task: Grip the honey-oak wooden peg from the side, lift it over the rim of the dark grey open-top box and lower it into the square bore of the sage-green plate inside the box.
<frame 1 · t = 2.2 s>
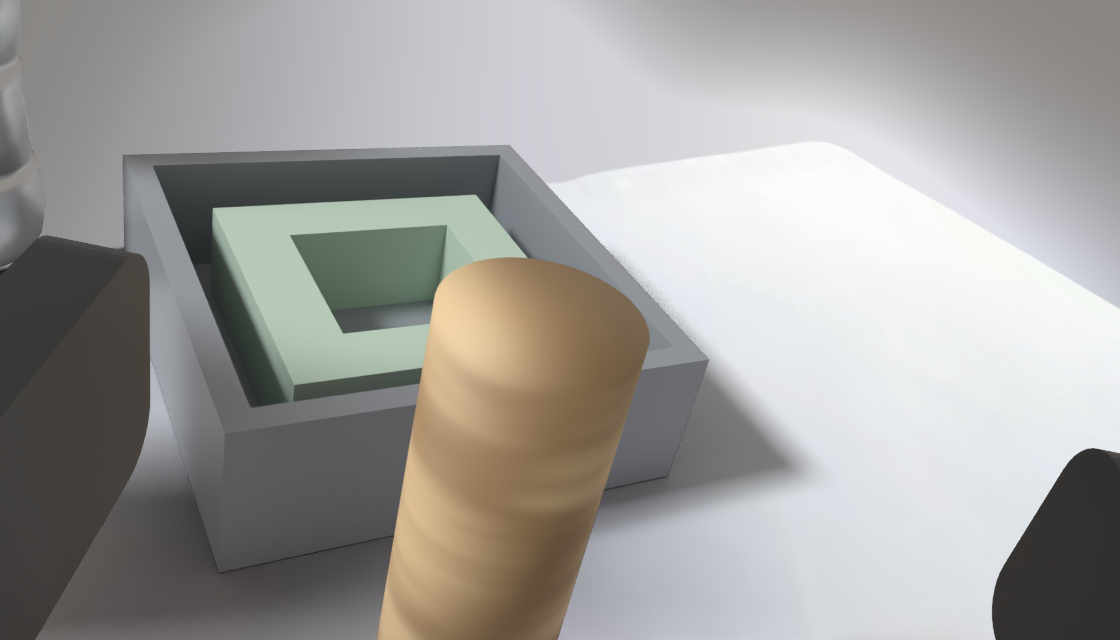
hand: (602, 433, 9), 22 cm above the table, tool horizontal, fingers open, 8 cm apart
box: (385, 372, 45), on the table
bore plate: (394, 314, 43), in the box, point 3 cm above the table
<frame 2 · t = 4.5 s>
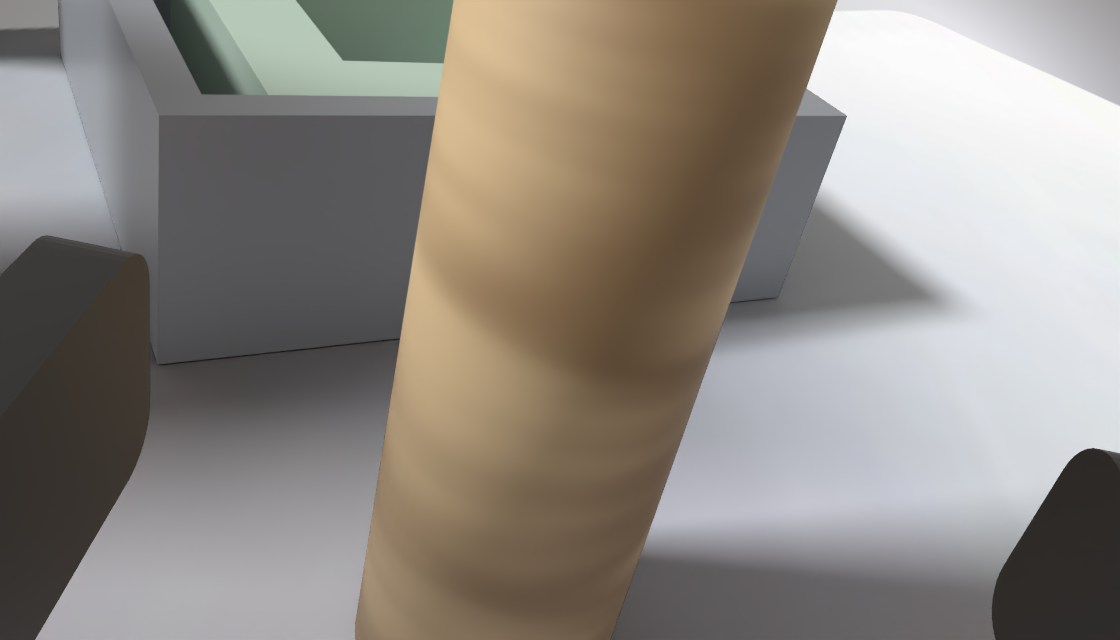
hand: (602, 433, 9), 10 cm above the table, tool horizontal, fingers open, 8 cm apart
peg: (480, 632, 19), on the table
box: (399, 168, 34), on the table
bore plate: (411, 81, 32), in the box, point 3 cm above the table
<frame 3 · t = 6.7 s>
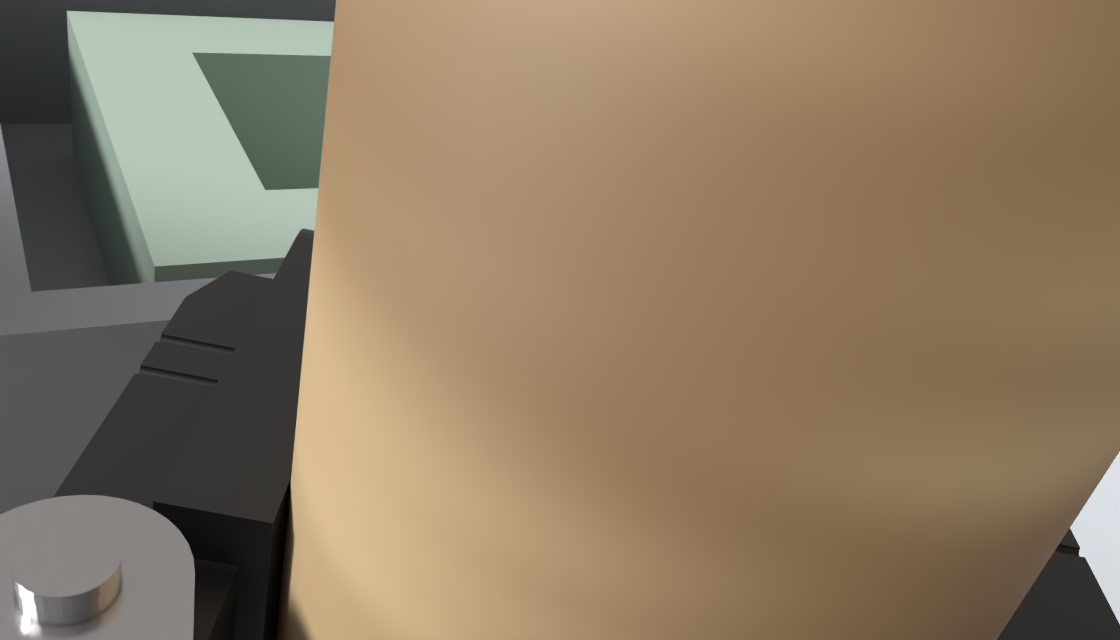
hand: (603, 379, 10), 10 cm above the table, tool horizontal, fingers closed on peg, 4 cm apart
box: (354, 290, 28), on the table
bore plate: (367, 188, 26), in the box, point 3 cm above the table
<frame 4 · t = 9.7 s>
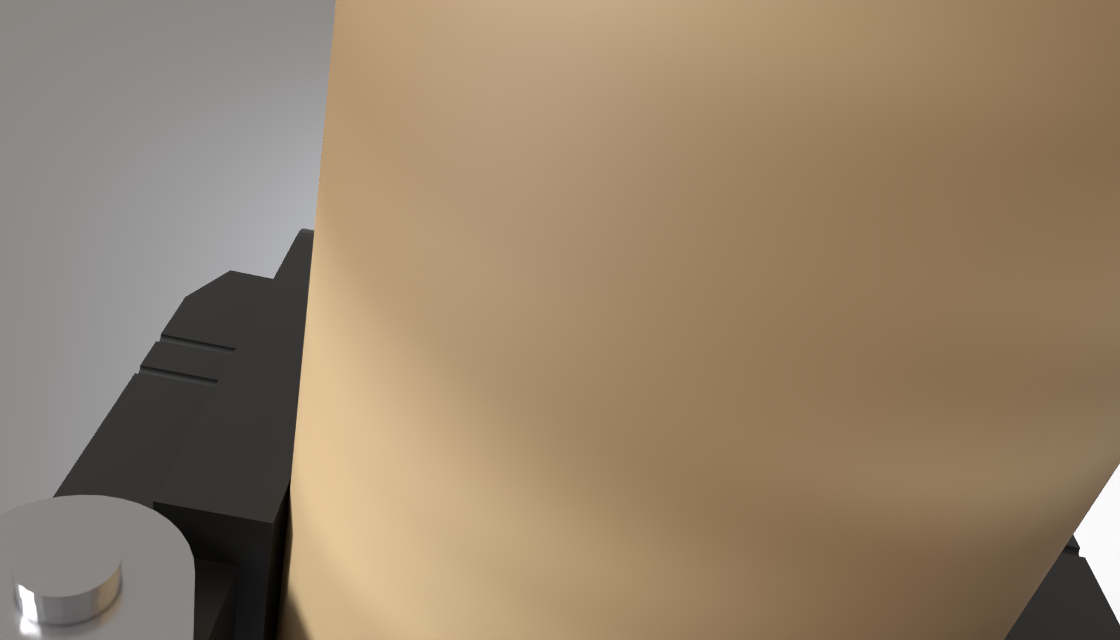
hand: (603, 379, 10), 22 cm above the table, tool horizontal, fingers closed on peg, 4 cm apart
when the fingers open (11 cm above the table, at t = 13.0 s): peg stays where it is, resting on box.
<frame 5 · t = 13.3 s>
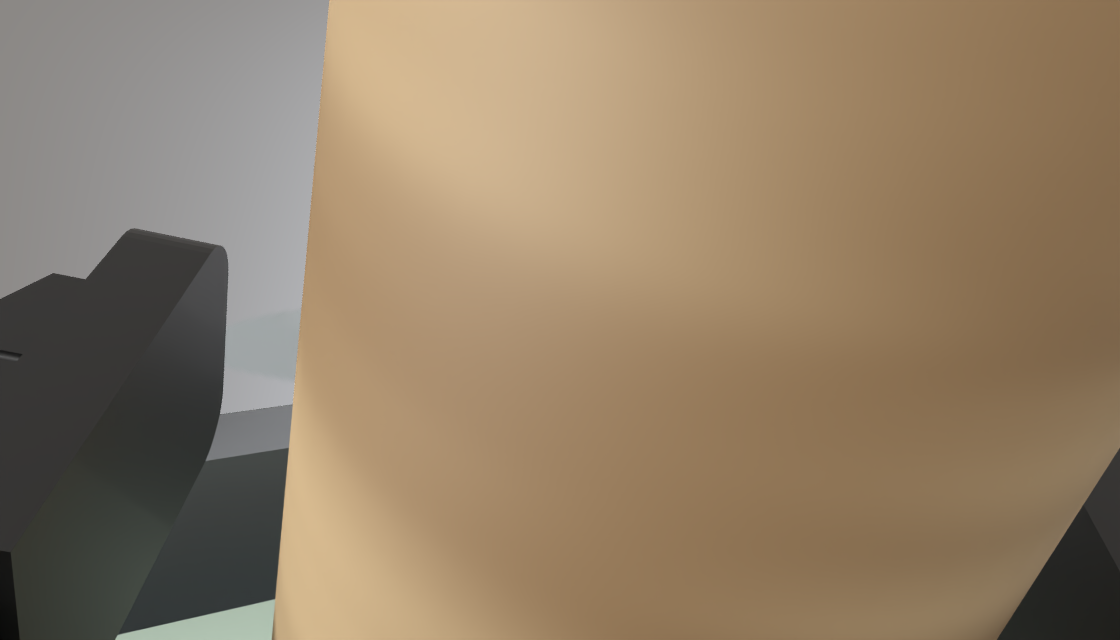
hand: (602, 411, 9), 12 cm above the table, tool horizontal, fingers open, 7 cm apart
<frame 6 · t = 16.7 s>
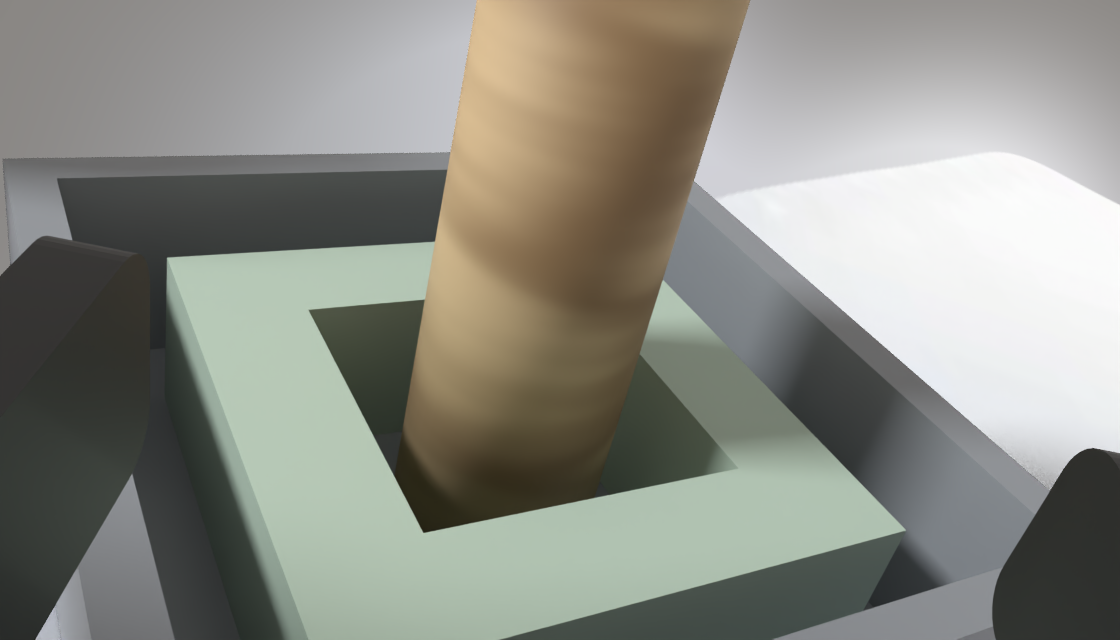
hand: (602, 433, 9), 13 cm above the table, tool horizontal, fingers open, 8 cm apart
peg: (484, 524, 24), point 1 cm above the table, touching box
box: (476, 552, 25), on the table
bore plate: (499, 457, 23), in the box, point 3 cm above the table
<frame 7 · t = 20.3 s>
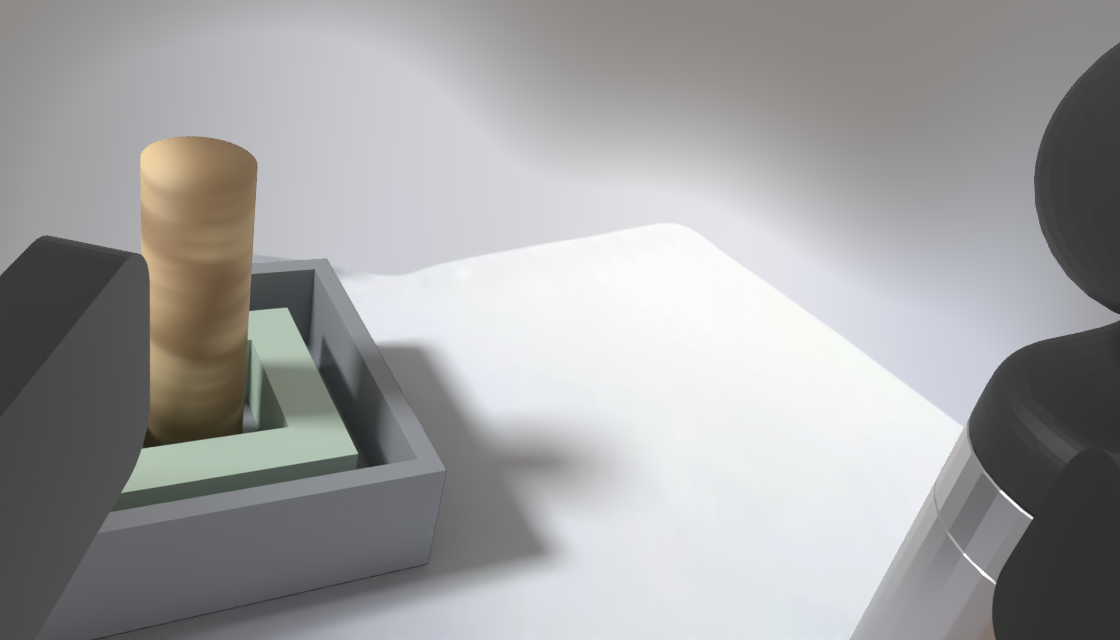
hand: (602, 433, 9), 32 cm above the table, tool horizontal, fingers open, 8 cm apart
peg: (192, 455, 51), point 1 cm above the table, touching box
box: (192, 469, 52), on the table
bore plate: (193, 423, 50), in the box, point 3 cm above the table
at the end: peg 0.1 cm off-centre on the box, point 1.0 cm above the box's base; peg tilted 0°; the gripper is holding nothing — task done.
